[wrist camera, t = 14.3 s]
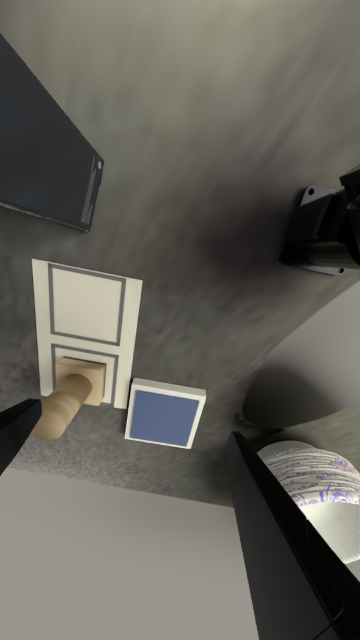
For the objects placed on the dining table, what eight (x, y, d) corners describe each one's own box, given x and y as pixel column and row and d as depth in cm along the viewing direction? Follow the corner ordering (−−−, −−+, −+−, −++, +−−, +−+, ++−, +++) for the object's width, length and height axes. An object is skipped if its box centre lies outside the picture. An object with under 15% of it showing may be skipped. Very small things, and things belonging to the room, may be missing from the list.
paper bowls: (236, 499, 30) (254, 578, 23) (226, 431, 26) (244, 504, 18) (332, 489, 29) (384, 570, 22) (341, 416, 24) (411, 488, 17)
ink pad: (205, 389, 23) (206, 398, 22) (190, 440, 26) (190, 451, 25) (134, 377, 23) (131, 385, 21) (127, 430, 26) (123, 440, 24)
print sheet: (142, 280, 19) (142, 280, 19) (126, 407, 24) (125, 409, 24) (33, 258, 18) (31, 258, 18) (42, 394, 24) (40, 395, 24)
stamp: (106, 363, 22) (73, 409, 15) (104, 396, 24) (73, 451, 17) (64, 355, 22) (12, 399, 15) (64, 389, 23) (17, 442, 17)
